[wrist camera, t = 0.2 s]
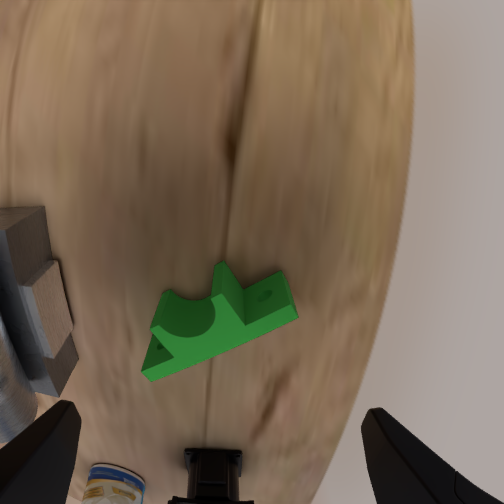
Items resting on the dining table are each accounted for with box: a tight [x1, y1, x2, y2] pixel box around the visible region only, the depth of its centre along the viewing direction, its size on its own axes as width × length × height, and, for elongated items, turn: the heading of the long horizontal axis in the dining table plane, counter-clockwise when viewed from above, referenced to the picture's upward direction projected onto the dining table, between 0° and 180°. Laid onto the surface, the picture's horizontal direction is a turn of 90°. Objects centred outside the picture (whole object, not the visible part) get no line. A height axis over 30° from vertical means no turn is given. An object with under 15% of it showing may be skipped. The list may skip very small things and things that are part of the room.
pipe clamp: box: [141, 261, 299, 382], centre depth 21 cm, size 11×4×5 cm, turn 119°
